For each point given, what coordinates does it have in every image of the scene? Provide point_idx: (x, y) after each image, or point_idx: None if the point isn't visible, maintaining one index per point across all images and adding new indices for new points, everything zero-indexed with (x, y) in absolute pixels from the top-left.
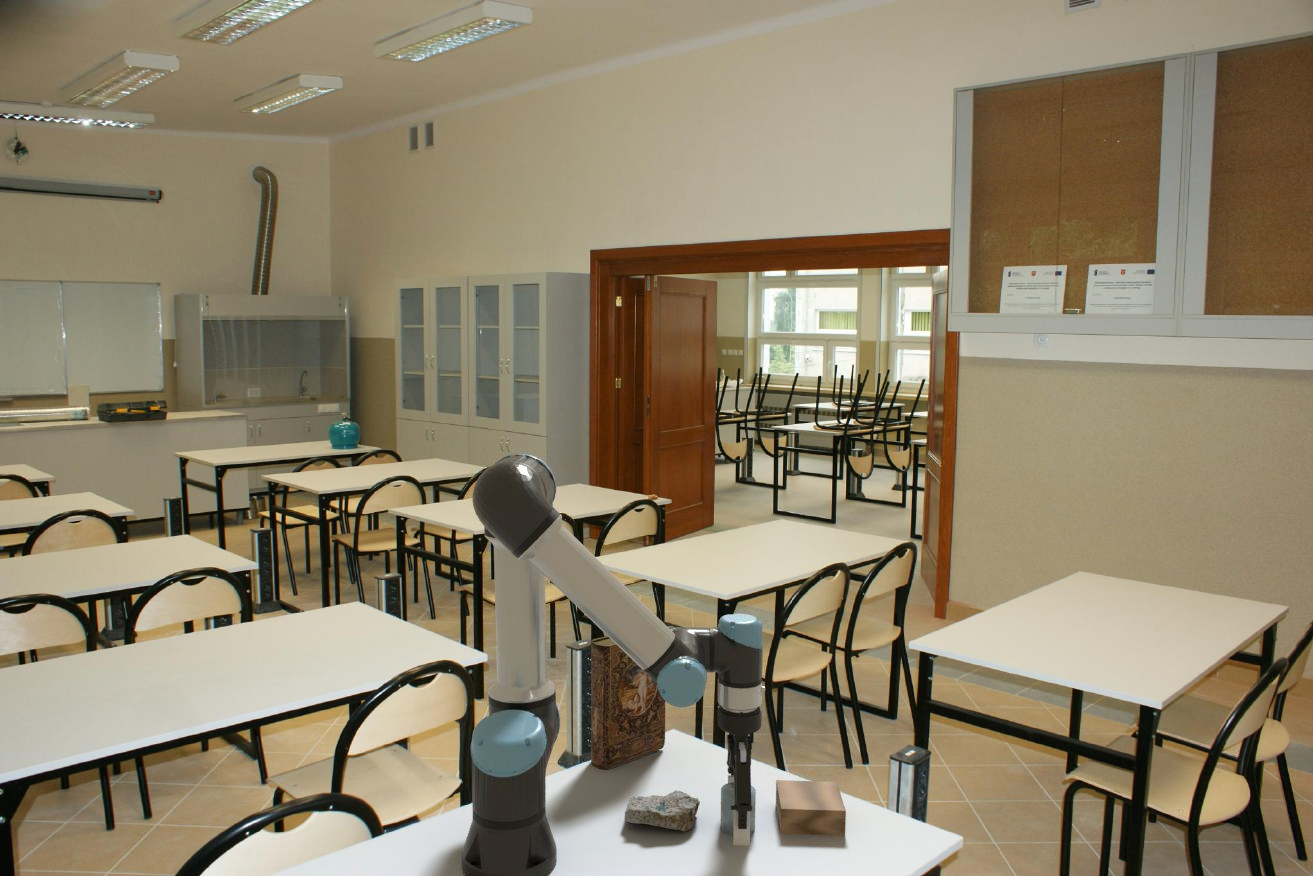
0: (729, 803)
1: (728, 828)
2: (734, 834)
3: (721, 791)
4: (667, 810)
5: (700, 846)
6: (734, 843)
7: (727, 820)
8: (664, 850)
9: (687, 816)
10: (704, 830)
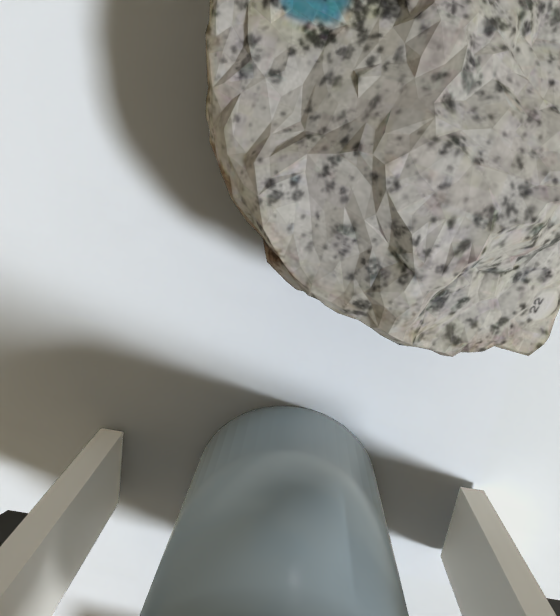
0: (171, 569)
1: (215, 448)
2: (69, 465)
3: (267, 584)
4: (277, 33)
5: (118, 259)
6: (95, 437)
7: (211, 470)
8: (83, 27)
9: (246, 217)
10: (291, 318)
